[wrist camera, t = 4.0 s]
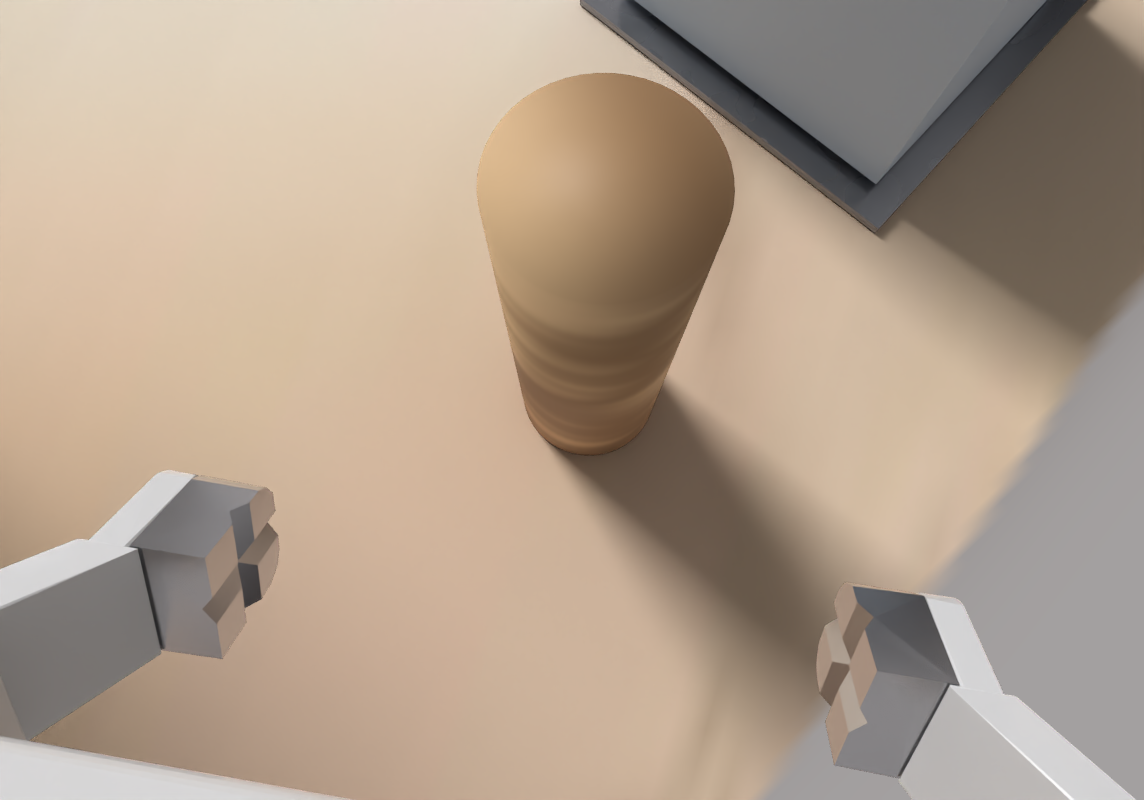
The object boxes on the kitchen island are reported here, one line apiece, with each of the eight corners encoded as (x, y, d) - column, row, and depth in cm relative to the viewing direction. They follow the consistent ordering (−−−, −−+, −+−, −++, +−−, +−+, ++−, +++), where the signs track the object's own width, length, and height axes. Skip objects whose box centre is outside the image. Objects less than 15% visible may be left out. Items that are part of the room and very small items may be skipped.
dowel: (546, 472, 23) (520, 337, 11) (507, 351, 24) (446, 111, 12) (672, 432, 23) (773, 259, 12) (629, 313, 24) (682, 45, 13)
